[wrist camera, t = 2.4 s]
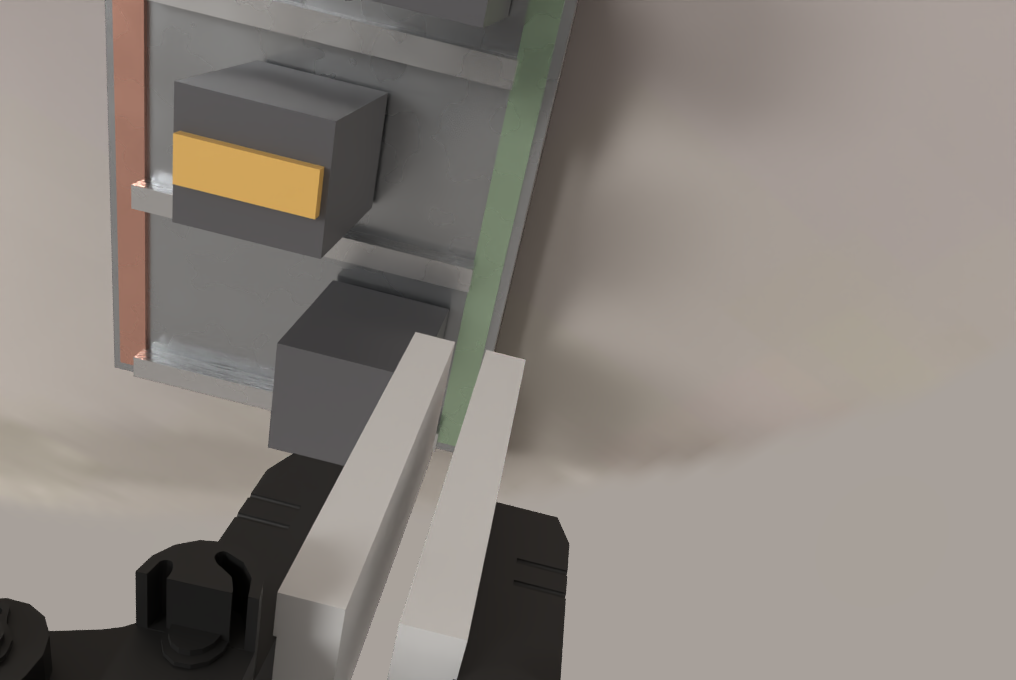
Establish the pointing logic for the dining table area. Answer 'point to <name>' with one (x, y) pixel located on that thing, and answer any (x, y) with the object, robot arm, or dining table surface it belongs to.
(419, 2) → the breaker
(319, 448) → the block
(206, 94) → the block
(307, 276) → the panel
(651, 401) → the dining table surface
